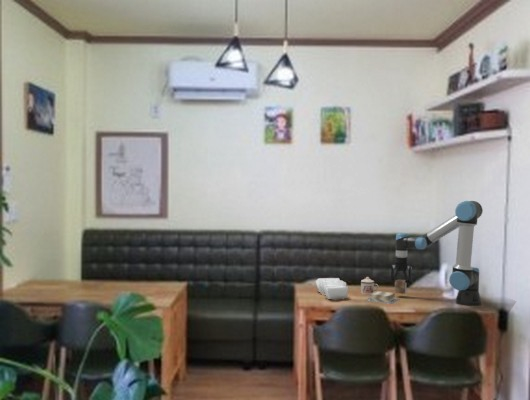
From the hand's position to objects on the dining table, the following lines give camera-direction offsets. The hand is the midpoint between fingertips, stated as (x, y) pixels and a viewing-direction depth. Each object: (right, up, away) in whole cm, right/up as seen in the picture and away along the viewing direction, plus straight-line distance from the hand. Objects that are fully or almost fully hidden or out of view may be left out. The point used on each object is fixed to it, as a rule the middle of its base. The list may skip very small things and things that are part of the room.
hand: (401, 291), depth 361 cm
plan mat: (-14, -4, -10) cm, 18 cm away
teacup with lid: (-19, -4, +10) cm, 22 cm away
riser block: (-14, -3, -10) cm, 18 cm away
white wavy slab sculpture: (-45, -3, +3) cm, 46 cm away
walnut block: (0, 0, 0) cm, 0 cm away
